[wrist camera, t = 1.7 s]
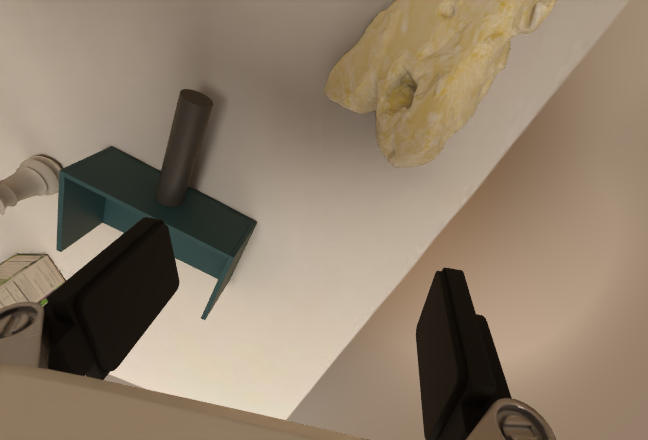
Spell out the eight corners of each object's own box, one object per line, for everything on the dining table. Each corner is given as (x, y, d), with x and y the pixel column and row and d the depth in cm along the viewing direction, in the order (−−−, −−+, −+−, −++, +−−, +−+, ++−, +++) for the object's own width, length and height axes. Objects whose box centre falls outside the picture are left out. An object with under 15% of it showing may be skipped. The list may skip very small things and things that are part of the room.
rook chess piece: (57, 196, 40) (-11, 232, 33) (25, 166, 38) (-54, 197, 31) (76, 179, 38) (8, 214, 31) (43, 146, 36) (-36, 176, 30)
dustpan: (101, 218, 40) (56, 250, 35) (125, 40, 29) (63, 45, 23) (228, 281, 42) (204, 320, 37) (298, 137, 31) (278, 162, 25)
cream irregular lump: (365, 155, 33) (530, 196, 22) (309, 146, 28) (488, 194, 17) (405, -21, 29) (628, -68, 18) (348, -69, 24) (610, -170, 13)
